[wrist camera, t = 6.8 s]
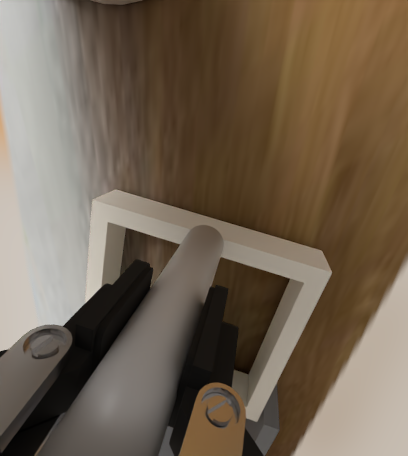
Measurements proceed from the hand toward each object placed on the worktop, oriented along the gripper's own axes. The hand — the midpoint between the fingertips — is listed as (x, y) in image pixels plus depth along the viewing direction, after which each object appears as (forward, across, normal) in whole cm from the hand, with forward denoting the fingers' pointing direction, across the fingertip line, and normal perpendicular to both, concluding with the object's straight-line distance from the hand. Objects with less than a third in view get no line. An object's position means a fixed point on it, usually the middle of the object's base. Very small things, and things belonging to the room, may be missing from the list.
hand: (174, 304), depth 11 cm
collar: (+10, 0, +7) cm, 12 cm away
